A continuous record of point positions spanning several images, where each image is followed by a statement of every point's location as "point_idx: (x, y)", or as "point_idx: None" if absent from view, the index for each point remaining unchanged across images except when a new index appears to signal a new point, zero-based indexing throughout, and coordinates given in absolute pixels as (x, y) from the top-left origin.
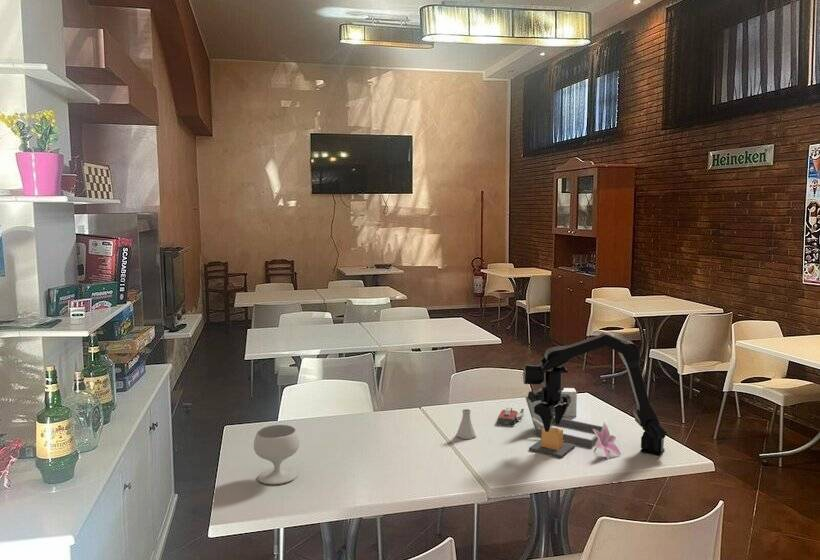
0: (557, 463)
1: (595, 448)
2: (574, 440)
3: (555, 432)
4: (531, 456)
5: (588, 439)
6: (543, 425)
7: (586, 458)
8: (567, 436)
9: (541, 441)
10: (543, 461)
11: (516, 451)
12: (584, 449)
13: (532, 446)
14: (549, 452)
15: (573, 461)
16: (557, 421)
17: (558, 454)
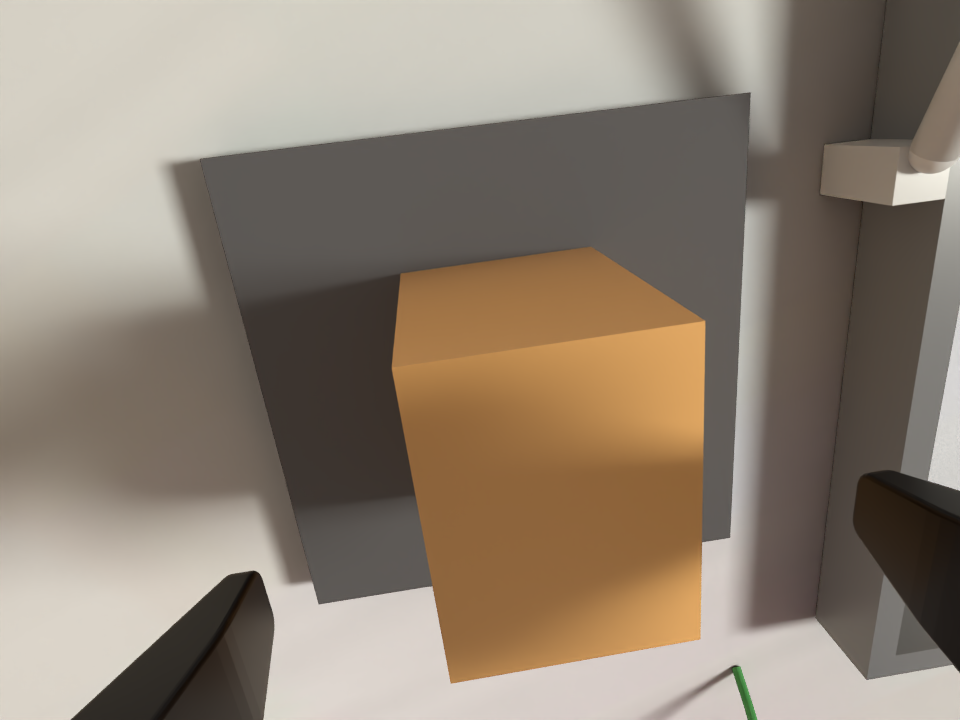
0: (168, 617)
1: (749, 704)
2: (859, 472)
3: (458, 633)
4: (65, 309)
5: (883, 640)
6: (102, 690)
7: (512, 710)
8: (896, 400)
9: (579, 161)
10: (74, 497)
11: (7, 15)
12: (724, 596)
13: (287, 173)
14: (289, 466)
15: (351, 680)
16: (908, 547)
17: (319, 566)
